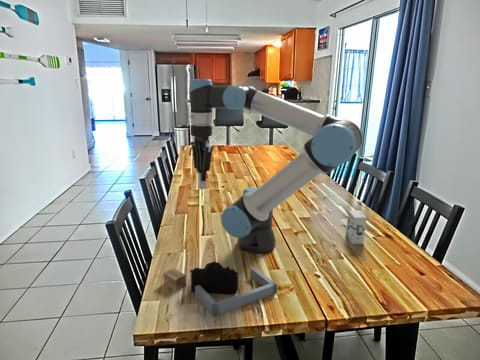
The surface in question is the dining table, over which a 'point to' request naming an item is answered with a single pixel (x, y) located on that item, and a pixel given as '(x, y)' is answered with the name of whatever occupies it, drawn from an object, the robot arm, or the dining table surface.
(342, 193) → the dining table surface
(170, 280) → the oak chock block
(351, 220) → the ink box
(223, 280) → the film camera
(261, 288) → the bay
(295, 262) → the dining table surface
